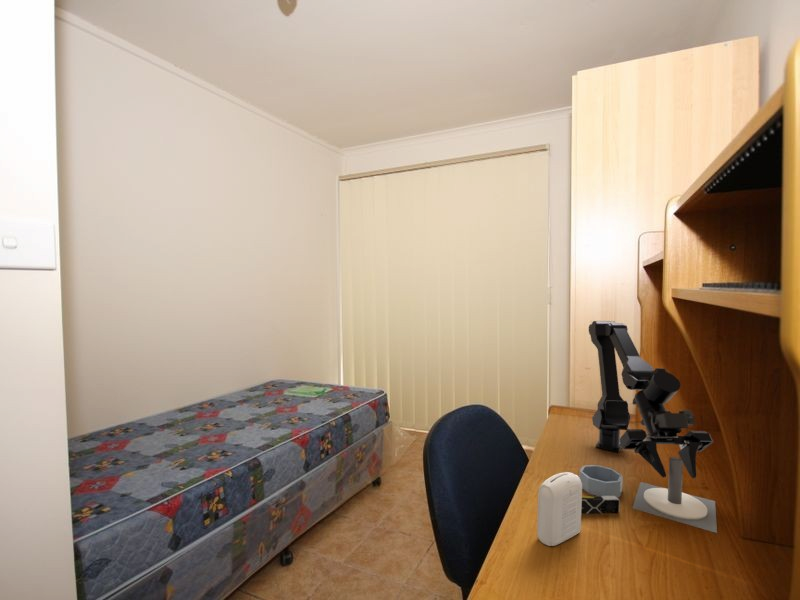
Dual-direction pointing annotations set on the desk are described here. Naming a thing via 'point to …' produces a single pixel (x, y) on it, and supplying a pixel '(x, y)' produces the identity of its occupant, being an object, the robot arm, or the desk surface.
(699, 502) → the lid
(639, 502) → the mat
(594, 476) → the bowl
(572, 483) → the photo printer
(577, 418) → the desk surface
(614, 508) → the graphics card
